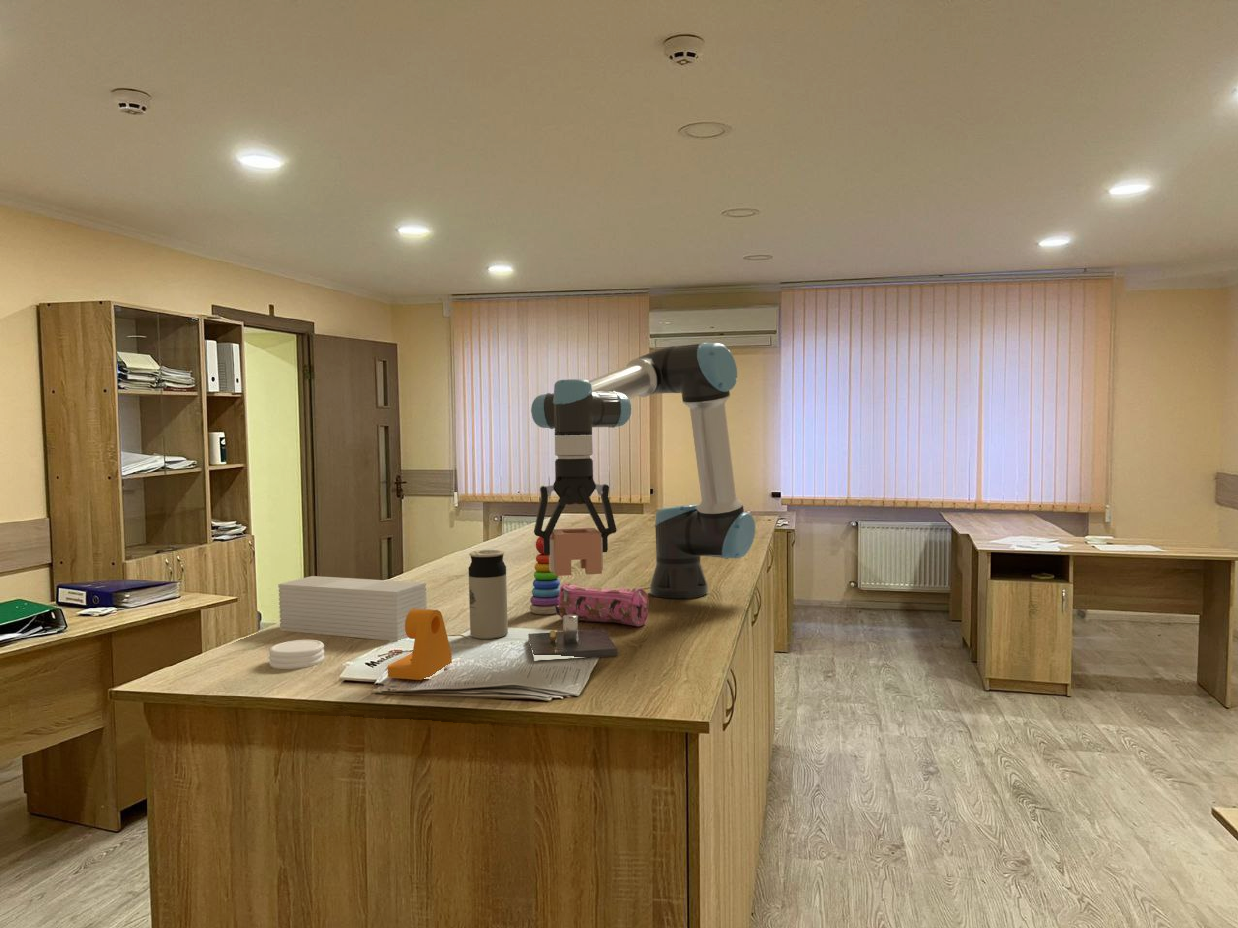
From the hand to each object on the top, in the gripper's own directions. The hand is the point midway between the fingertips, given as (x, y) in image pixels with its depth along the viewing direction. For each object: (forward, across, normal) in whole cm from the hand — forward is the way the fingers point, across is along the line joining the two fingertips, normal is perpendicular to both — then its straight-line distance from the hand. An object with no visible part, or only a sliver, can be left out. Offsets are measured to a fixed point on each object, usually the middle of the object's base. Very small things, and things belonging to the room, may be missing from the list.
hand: (576, 569), depth 169 cm
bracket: (+16, +30, +10) cm, 36 cm away
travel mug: (+16, +17, -16) cm, 28 cm away
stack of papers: (+16, +47, -29) cm, 57 cm away
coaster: (+16, +54, -4) cm, 57 cm away
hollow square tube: (0, 0, 0) cm, 0 cm away
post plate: (+16, +1, 0) cm, 16 cm away
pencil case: (+16, -9, -20) cm, 27 cm away
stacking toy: (+16, +3, -35) cm, 39 cm away
